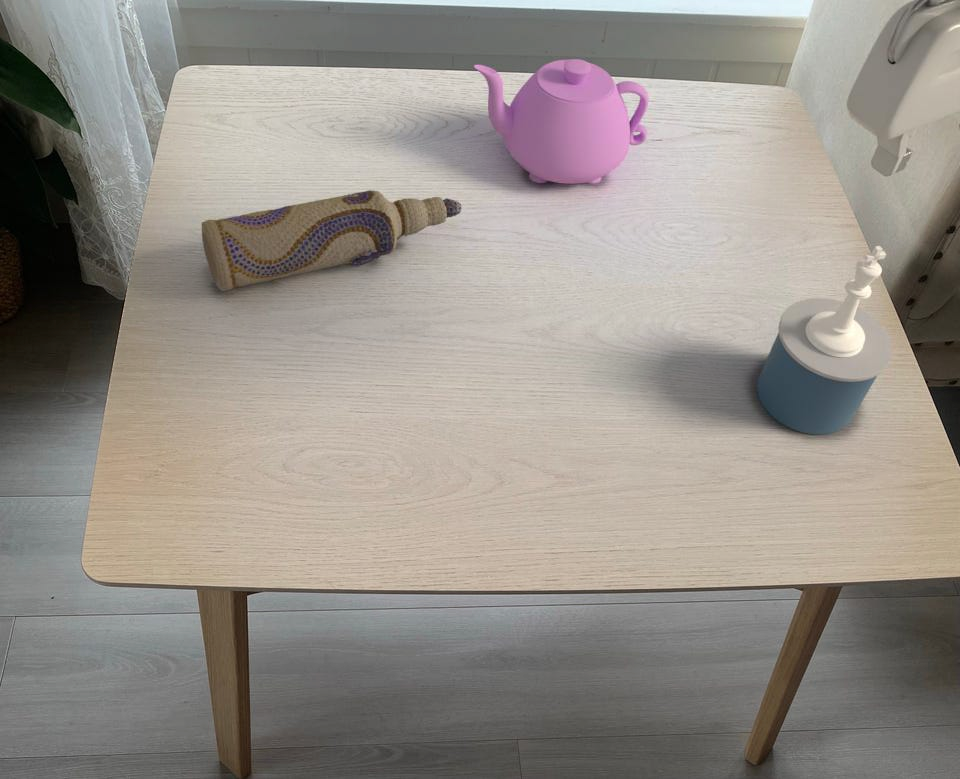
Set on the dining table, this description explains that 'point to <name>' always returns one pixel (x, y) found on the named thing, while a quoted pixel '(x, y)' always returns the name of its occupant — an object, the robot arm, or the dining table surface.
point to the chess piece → (846, 313)
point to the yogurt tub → (819, 372)
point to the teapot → (567, 121)
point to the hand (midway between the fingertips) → (930, 150)
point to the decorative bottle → (314, 235)
